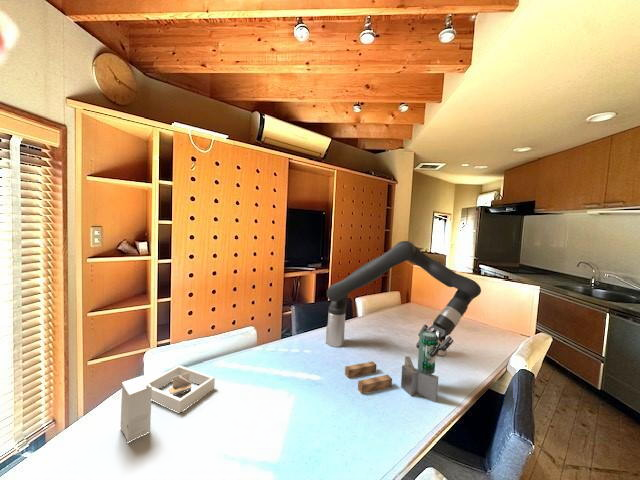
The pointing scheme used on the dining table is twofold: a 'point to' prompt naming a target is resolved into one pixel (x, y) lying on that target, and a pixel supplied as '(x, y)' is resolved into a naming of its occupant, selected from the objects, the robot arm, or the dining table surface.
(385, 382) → the wooden bar pair
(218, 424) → the dining table surface
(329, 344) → the robot arm
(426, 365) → the can
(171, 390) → the architectural model
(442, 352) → the soda can
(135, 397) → the skincare box
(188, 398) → the holder tray
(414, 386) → the v cradle
